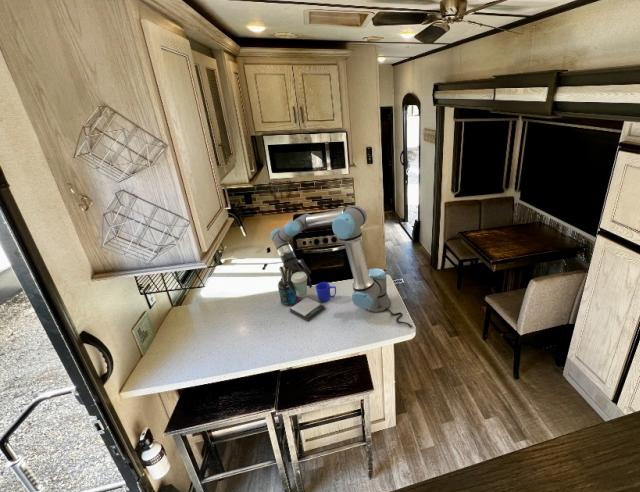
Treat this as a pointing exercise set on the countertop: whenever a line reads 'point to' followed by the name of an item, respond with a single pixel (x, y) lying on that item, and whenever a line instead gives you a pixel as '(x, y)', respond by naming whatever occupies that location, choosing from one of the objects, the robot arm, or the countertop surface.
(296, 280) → the coffee cup
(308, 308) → the scale
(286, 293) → the container
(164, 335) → the countertop surface
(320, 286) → the mug
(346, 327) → the countertop surface
